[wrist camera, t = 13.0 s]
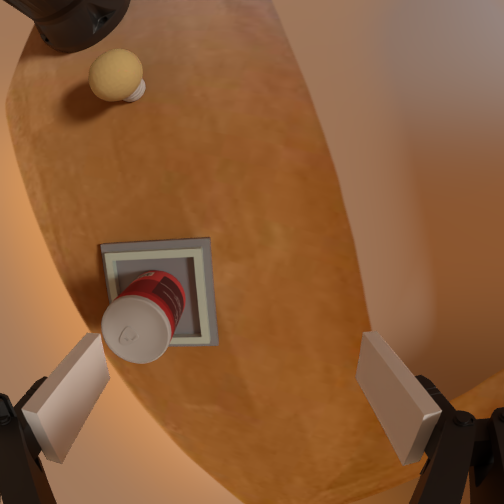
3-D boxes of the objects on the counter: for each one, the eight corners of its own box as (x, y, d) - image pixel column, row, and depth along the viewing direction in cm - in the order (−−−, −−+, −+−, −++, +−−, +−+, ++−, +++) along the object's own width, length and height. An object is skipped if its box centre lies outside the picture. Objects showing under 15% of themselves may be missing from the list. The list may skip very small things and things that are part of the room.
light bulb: (163, 97, 37) (141, 73, 27) (121, 120, 37) (89, 105, 28) (146, 60, 36) (122, 31, 26) (106, 84, 36) (73, 62, 26)
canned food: (123, 305, 42) (91, 341, 31) (146, 257, 40) (116, 282, 30) (170, 333, 43) (152, 376, 32) (197, 286, 41) (182, 321, 31)
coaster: (103, 243, 41) (97, 246, 39) (210, 237, 41) (208, 240, 39) (120, 342, 44) (115, 349, 42) (218, 342, 44) (217, 349, 42)
